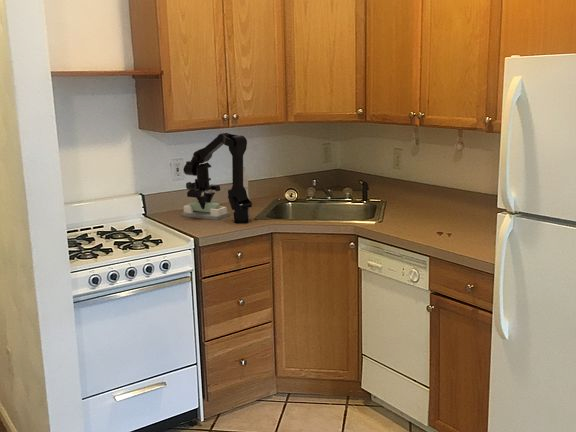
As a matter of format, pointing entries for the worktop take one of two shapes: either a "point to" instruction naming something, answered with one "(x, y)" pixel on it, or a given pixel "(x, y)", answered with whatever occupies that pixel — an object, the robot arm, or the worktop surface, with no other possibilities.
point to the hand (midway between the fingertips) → (205, 208)
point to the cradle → (206, 213)
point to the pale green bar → (207, 206)
